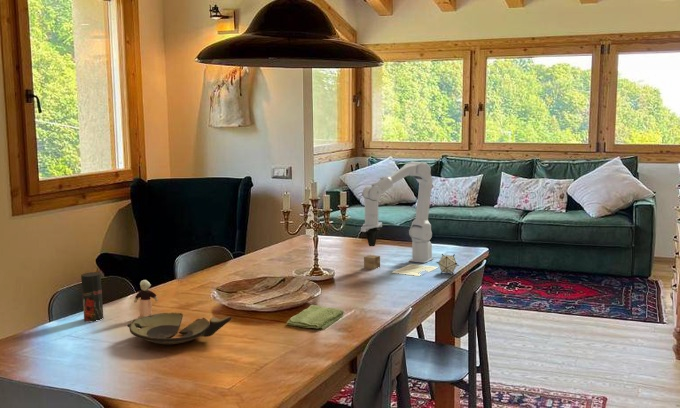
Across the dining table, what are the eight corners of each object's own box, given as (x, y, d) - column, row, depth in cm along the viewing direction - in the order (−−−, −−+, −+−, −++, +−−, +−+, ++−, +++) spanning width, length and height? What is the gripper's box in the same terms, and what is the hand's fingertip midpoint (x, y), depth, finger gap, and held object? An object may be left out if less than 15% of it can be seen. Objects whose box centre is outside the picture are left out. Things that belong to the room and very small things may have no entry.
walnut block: (370, 266, 287) (370, 254, 287) (380, 267, 285) (380, 255, 284) (364, 268, 283) (363, 256, 283) (374, 269, 281) (374, 258, 280)
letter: (411, 264, 289) (411, 263, 289) (438, 267, 282) (438, 267, 282) (391, 272, 274) (391, 272, 274) (419, 276, 267) (419, 276, 267)
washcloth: (284, 327, 207) (284, 317, 207) (312, 312, 223) (311, 302, 222) (321, 333, 201) (321, 322, 201) (347, 317, 217) (347, 307, 216)
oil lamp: (165, 323, 212) (164, 300, 211) (242, 337, 198) (241, 312, 197) (111, 345, 192) (109, 319, 191) (192, 362, 178) (190, 334, 177)
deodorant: (107, 318, 218) (104, 273, 217) (92, 322, 213) (89, 277, 211) (95, 315, 222) (92, 271, 220) (80, 320, 216) (77, 275, 214)
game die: (451, 281, 273) (465, 261, 273) (448, 279, 265) (462, 258, 265) (433, 269, 276) (447, 249, 277) (429, 266, 269) (444, 246, 269)
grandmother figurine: (134, 320, 215) (132, 282, 214) (134, 317, 219) (132, 279, 217) (159, 318, 217) (157, 280, 216) (159, 314, 221) (157, 277, 219)
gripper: (372, 211, 289) (372, 242, 291) (354, 216, 277) (354, 248, 279) (386, 212, 285) (386, 243, 287) (369, 217, 273) (369, 249, 275)
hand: (371, 245), depth 283 cm, fingers closed
